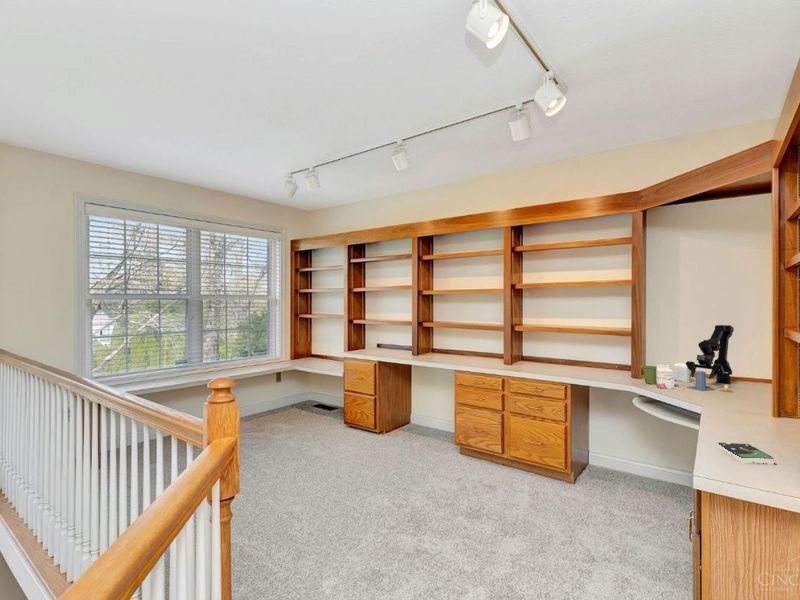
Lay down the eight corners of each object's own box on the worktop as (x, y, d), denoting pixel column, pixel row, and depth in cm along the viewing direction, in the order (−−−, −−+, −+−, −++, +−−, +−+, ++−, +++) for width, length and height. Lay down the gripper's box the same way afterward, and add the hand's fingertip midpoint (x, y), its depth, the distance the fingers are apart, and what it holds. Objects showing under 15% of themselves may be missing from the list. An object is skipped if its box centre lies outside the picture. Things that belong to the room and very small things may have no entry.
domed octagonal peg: (694, 387, 250) (693, 371, 250) (702, 387, 249) (702, 371, 249) (699, 388, 245) (698, 372, 245) (708, 388, 244) (707, 372, 244)
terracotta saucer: (716, 392, 241) (715, 384, 241) (725, 391, 242) (724, 383, 242) (728, 394, 234) (728, 386, 234) (737, 393, 236) (736, 385, 236)
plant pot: (666, 384, 266) (666, 367, 266) (651, 385, 264) (651, 368, 264) (651, 381, 278) (651, 365, 278) (637, 382, 275) (636, 366, 275)
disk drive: (717, 449, 153) (742, 464, 139) (717, 442, 153) (741, 456, 139) (748, 451, 151) (776, 466, 136) (748, 443, 151) (776, 458, 136)
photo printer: (692, 382, 270) (691, 364, 271) (687, 382, 269) (686, 364, 269) (677, 379, 280) (676, 362, 280) (672, 380, 279) (672, 362, 279)
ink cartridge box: (659, 388, 255) (658, 365, 255) (656, 387, 259) (655, 364, 260) (674, 388, 253) (673, 365, 253) (671, 387, 258) (670, 364, 258)
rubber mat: (687, 389, 250) (686, 387, 250) (699, 388, 253) (699, 385, 253) (702, 392, 241) (702, 390, 241) (715, 391, 243) (715, 388, 243)
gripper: (686, 348, 258) (679, 367, 252) (721, 351, 242) (714, 371, 236) (692, 359, 262) (685, 378, 256) (727, 362, 246) (720, 383, 240)
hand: (700, 377), depth 247 cm, fingers open, 9 cm apart
